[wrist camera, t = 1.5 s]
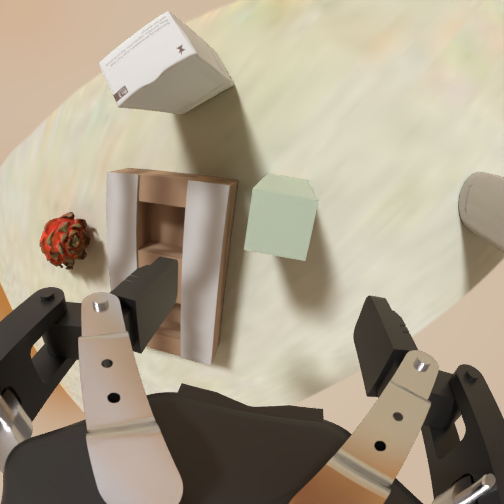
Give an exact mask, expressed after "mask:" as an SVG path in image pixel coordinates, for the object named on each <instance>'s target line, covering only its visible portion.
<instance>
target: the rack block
mask: <svg viewBox="0 0 504 504" xmlns="http://www.w3.org/2000/svg"><path fill="white" fill-rule="evenodd" d="M237 187H238V180H231V179H224V178H217V177H210V176H202V175H194V174H185V173H176V172H167V171H156V170H145V169H133V168H127V169H122V170H117V171H112V172H107V202H106V211H107V246H108V262H109V275H110V285H111V291H112V290H113V289H114V288H116V287H117V286H118V285H119V284H120V283H121V282H122V281H123V280H125V279H126V278H127V277H128V276H129V275H131V273H133V272H134V271H135V270H136V269H137V268H140V267H142V266H145V265H151V264H152V263H153V262H154V261H155V260H156V259H157V258H158V257H160V256H162V257H167V258H171V259H176V260H177V261H178V293H177V299H176V303H175V305H174V307H173V308H172V310H171V311H170V312H169V314H168V315H167V317H166V318H165V320H164V321H163V323H162V324H161V325H160V327H159V328H158V330H157V331H156V333H155V334H154V336H153V337H152V338H151V340H150V341H149V343H148V344H147V346H148V347H151V348H154V349H157V350H161V351H164V352H168V353H171V354H175V355H178V356H181V358H184V359H188V360H192V361H196V362H200V363H204V364H208V365H211V364H212V361H213V358H214V356H215V353H216V350H217V348H218V345H219V339H220V329H221V319H222V310H223V301H224V292H225V283H226V274H227V266H228V257H229V249H230V241H231V233H232V225H233V217H234V209H235V202H236V194H237Z"/></svg>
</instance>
